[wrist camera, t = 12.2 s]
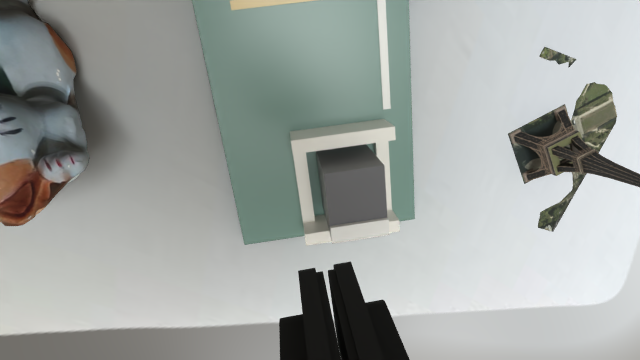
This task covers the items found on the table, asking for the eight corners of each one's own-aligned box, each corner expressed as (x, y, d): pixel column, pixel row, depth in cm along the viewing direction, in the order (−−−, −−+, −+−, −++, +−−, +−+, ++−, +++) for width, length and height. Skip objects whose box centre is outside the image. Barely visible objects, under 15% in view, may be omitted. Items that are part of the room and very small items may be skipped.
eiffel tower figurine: (549, 231, 36) (689, 327, 24) (459, 206, 34) (561, 297, 22) (633, 82, 32) (859, 105, 19) (536, 44, 30) (717, 43, 18)
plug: (315, 149, 29) (324, 175, 23) (364, 142, 30) (385, 166, 24) (322, 206, 31) (332, 243, 25) (369, 199, 31) (389, 234, 25)
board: (192, -12, 26) (176, -23, 22) (402, -36, 26) (423, -51, 23) (245, 238, 33) (240, 264, 29) (410, 213, 33) (427, 235, 30)
